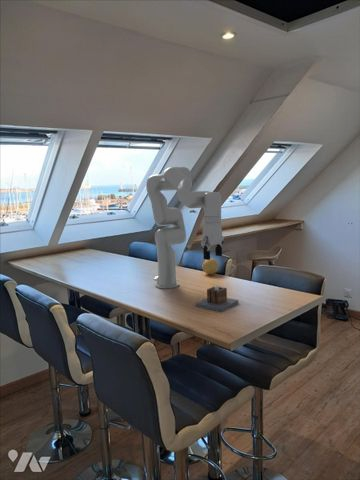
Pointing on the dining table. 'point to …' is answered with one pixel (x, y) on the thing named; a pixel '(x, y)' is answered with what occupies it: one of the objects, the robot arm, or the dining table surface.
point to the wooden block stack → (217, 295)
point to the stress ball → (210, 266)
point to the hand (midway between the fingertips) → (212, 257)
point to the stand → (216, 307)
